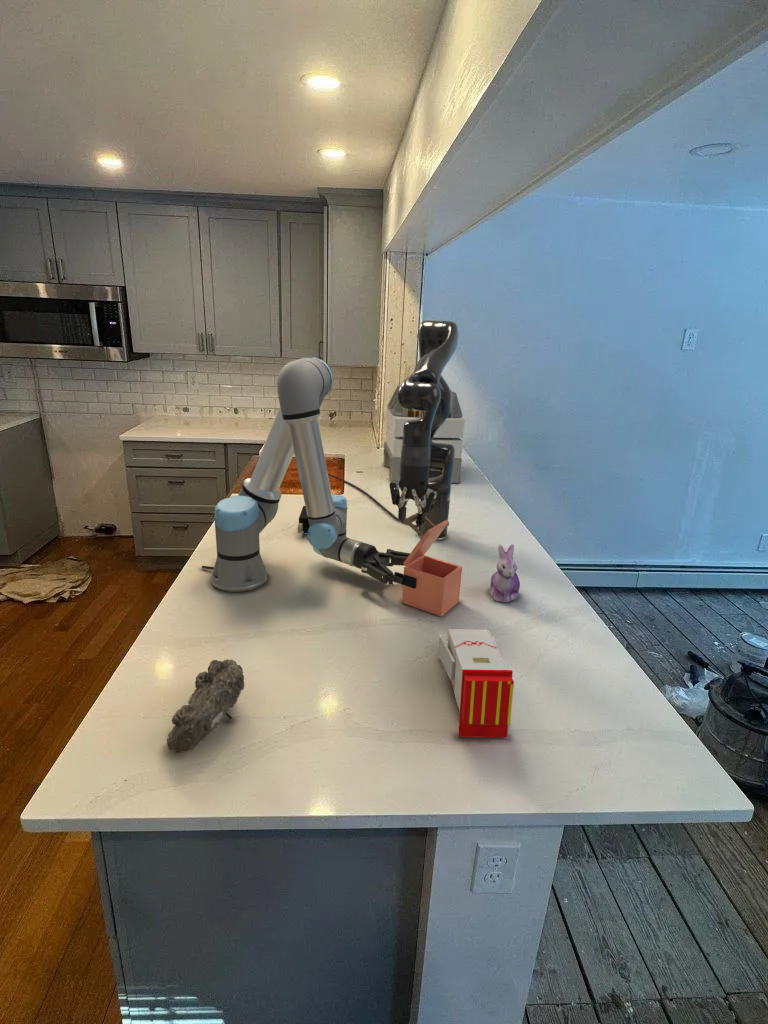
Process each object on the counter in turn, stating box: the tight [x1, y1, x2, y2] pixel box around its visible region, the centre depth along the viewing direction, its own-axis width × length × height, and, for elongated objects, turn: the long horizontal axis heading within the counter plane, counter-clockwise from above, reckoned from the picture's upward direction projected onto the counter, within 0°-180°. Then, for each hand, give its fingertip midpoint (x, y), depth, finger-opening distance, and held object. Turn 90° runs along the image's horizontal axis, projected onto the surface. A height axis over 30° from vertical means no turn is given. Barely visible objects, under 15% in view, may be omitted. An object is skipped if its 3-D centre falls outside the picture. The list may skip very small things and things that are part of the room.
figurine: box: [489, 544, 521, 603], centre depth 157 cm, size 9×10×15 cm
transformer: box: [383, 384, 465, 484], centre depth 268 cm, size 34×33×41 cm
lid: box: [403, 512, 450, 567], centre depth 151 cm, size 13×10×8 cm
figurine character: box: [297, 505, 310, 538], centre depth 197 cm, size 7×8×15 cm
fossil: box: [166, 658, 245, 754], centre depth 106 cm, size 22×10×15 cm
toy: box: [437, 628, 515, 738], centre depth 117 cm, size 12×13×30 cm
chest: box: [401, 554, 463, 617], centre depth 153 cm, size 12×10×11 cm
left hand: (426, 576), depth 153 cm, fingers closed on chest, 10 cm apart
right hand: (411, 523), depth 151 cm, fingers open, 4 cm apart
